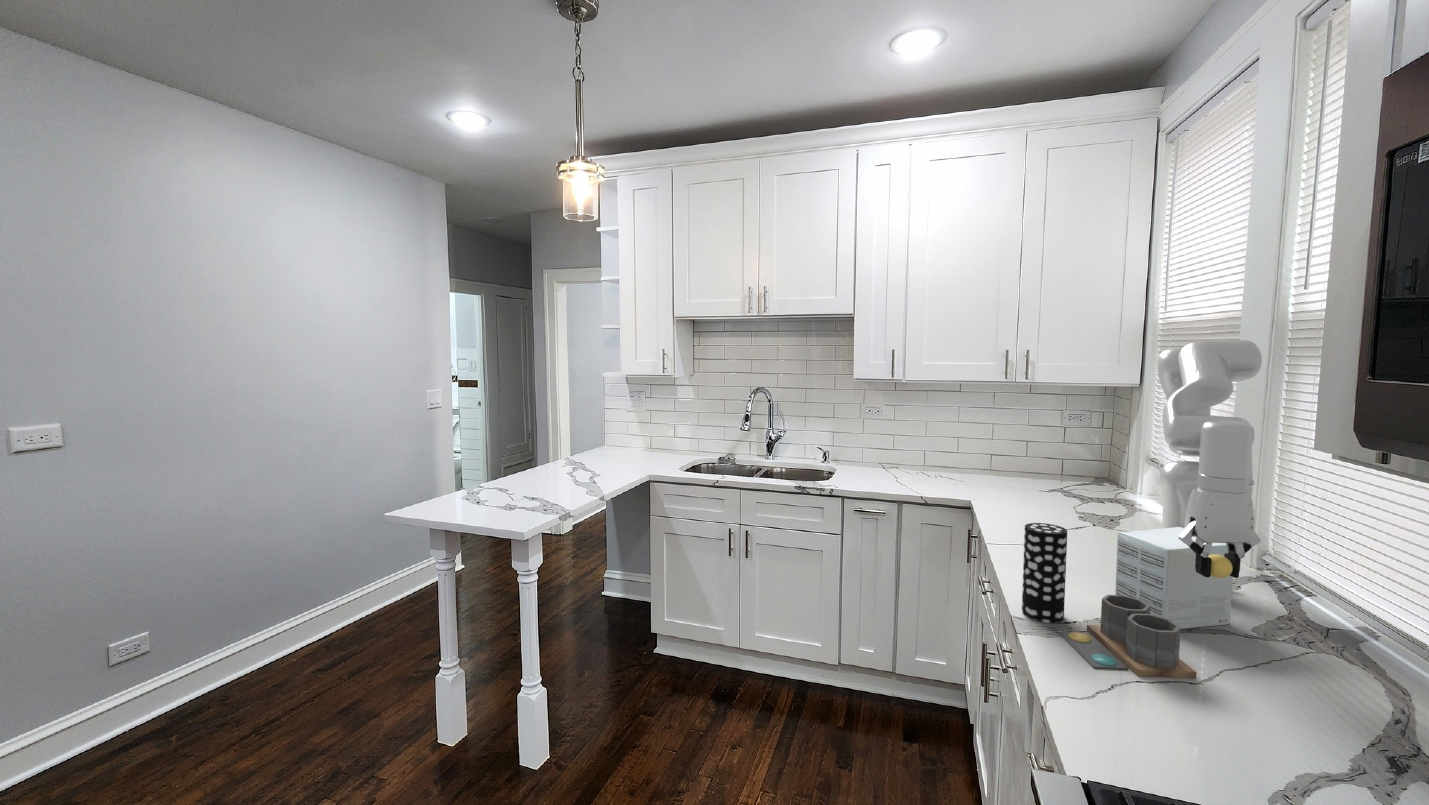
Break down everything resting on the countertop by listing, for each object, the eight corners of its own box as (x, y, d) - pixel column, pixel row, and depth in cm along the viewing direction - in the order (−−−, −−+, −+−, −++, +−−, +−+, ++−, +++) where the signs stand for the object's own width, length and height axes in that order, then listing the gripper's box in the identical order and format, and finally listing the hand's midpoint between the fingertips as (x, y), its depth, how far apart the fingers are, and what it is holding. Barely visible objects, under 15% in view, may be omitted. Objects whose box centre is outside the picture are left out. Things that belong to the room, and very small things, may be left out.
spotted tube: (1059, 609, 137) (1062, 524, 135) (1067, 625, 129) (1071, 535, 127) (1019, 604, 139) (1021, 521, 138) (1025, 620, 132) (1028, 532, 130)
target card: (1089, 634, 125) (1089, 631, 125) (1128, 669, 111) (1128, 666, 111) (1058, 633, 125) (1059, 630, 125) (1094, 668, 111) (1094, 665, 111)
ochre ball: (1220, 573, 119) (1222, 551, 119) (1237, 582, 115) (1239, 559, 114) (1196, 572, 120) (1197, 551, 119) (1212, 581, 115) (1214, 558, 115)
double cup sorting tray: (1136, 631, 126) (1138, 594, 125) (1196, 678, 108) (1198, 634, 107) (1086, 630, 127) (1088, 592, 126) (1137, 675, 109) (1139, 632, 108)
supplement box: (1174, 600, 141) (1179, 525, 140) (1232, 625, 128) (1237, 543, 127) (1111, 606, 138) (1115, 530, 137) (1163, 632, 125) (1168, 549, 124)
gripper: (1254, 480, 119) (1248, 569, 120) (1163, 479, 120) (1158, 567, 122) (1286, 489, 111) (1279, 583, 113) (1189, 488, 113) (1184, 581, 114)
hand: (1216, 574), depth 117 cm, fingers closed on ochre ball, 4 cm apart
